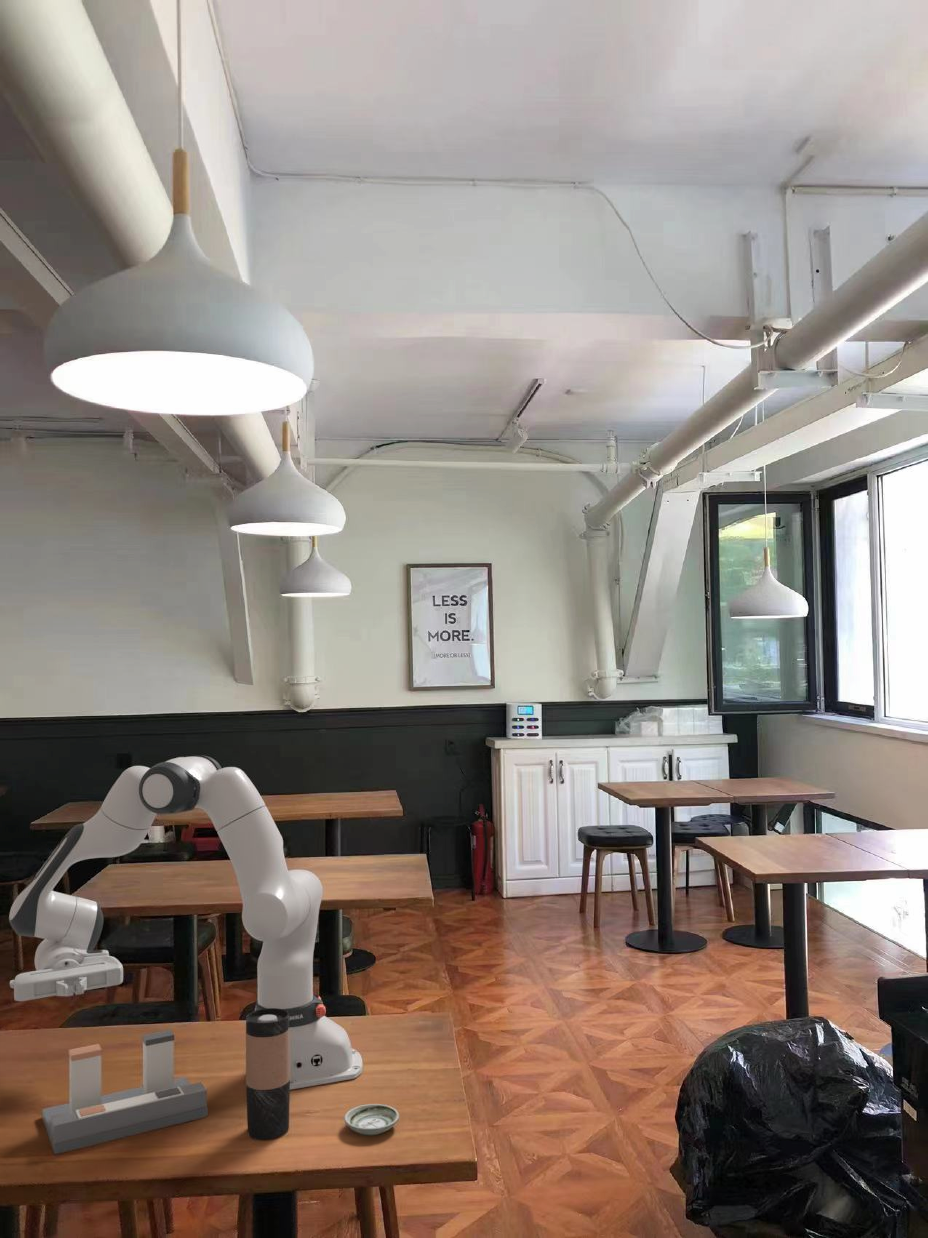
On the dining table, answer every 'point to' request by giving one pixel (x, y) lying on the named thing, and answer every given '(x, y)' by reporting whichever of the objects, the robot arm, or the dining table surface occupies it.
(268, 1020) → the travel mug
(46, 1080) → the dining table surface
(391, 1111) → the saucer
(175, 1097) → the key console
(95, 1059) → the terracotta key
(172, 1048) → the charcoal key
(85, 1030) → the dining table surface
